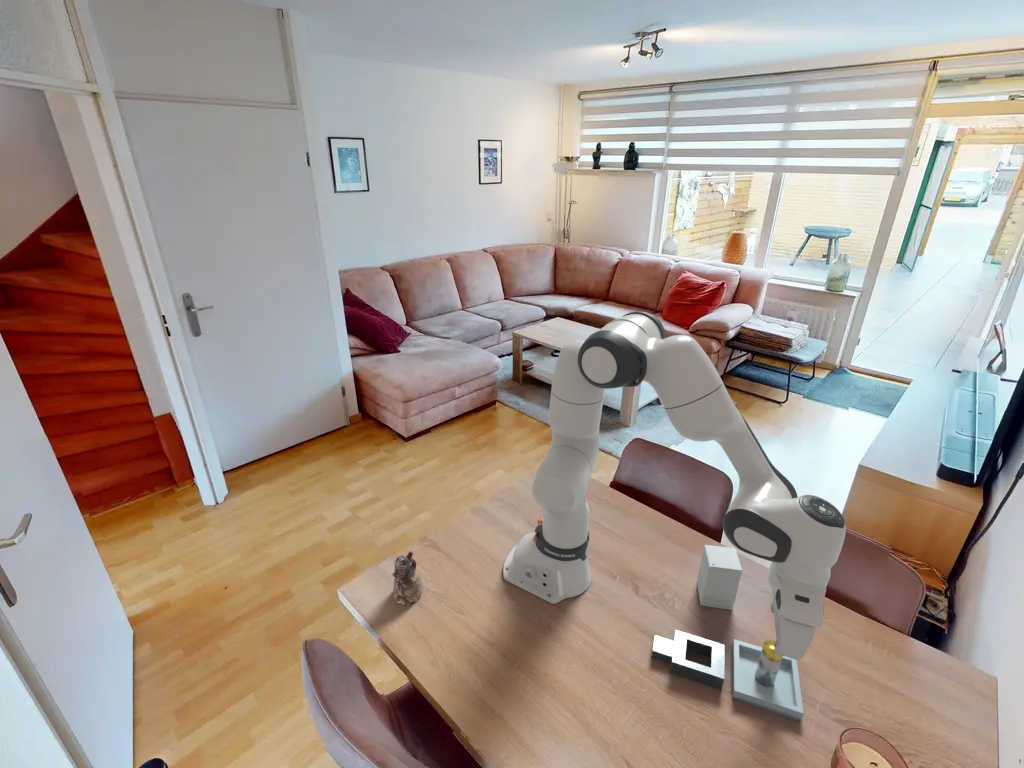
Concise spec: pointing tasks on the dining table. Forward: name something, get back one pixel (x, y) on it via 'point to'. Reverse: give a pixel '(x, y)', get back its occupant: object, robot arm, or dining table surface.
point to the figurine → (406, 580)
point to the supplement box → (718, 577)
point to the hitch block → (675, 656)
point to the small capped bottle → (768, 665)
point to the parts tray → (748, 690)
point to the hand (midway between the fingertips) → (777, 630)
